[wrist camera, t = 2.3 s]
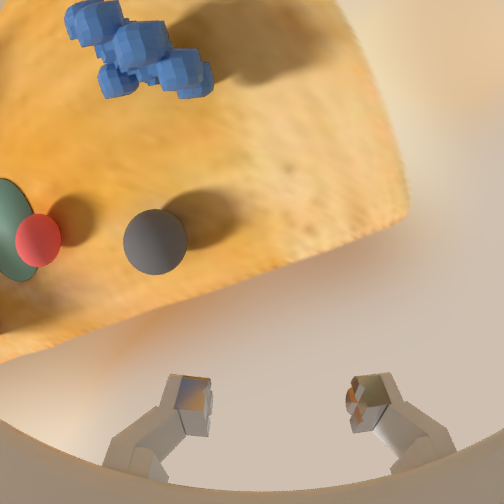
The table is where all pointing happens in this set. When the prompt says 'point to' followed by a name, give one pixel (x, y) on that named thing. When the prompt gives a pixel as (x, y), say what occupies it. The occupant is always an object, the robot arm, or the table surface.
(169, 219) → the ball
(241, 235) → the table surface
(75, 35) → the grapes
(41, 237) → the ball
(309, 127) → the table surface
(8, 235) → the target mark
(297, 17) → the table surface
